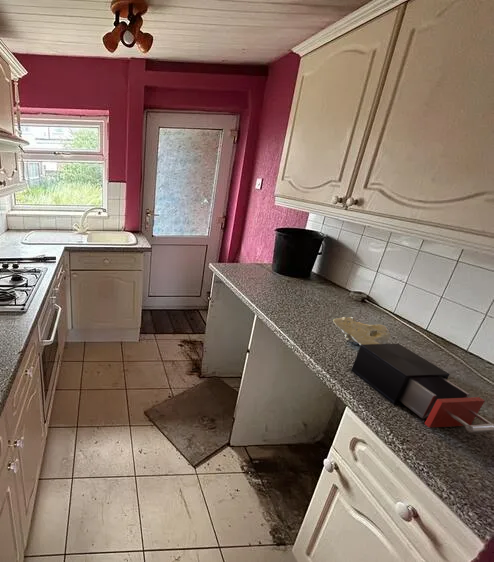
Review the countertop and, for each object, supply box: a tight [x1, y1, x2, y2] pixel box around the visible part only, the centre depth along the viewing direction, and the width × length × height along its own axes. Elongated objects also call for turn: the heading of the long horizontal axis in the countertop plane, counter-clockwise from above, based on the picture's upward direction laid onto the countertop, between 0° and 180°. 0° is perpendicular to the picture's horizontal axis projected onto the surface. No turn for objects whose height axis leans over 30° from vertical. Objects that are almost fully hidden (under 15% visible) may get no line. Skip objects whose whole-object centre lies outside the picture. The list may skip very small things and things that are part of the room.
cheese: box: [332, 316, 391, 346], centre depth 110 cm, size 15×7×15 cm
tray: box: [398, 377, 494, 434], centre depth 78 cm, size 19×11×8 cm, turn 5°
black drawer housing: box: [351, 343, 450, 406], centre depth 89 cm, size 15×13×10 cm
